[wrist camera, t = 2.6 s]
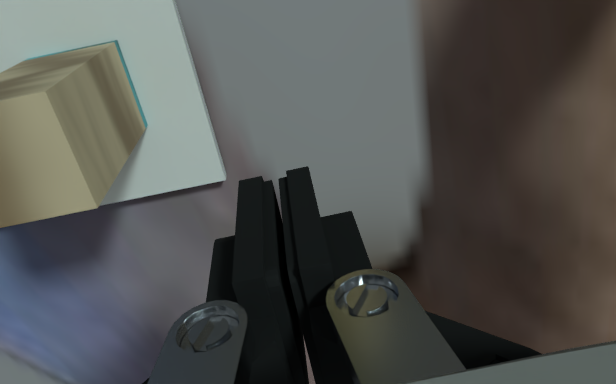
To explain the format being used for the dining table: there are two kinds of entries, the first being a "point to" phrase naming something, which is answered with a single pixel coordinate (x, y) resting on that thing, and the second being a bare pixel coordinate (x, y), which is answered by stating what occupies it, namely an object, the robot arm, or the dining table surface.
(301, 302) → the robot arm
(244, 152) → the dining table surface
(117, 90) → the oak block
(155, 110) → the grey mat
